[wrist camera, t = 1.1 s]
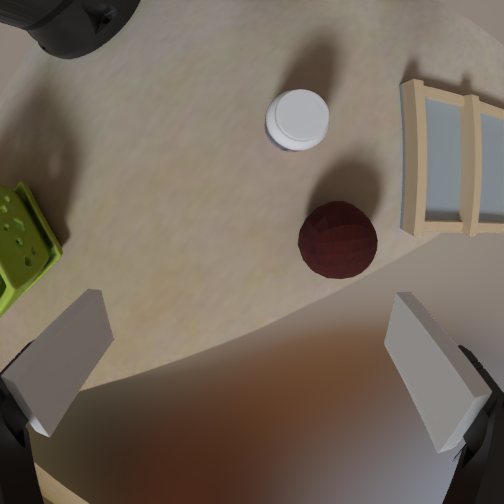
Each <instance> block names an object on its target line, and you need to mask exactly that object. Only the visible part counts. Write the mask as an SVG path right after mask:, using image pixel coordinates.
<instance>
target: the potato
mask: <svg viewBox="0 0 504 504" xmlns="http://www.w3.org/2000/svg"><path fill="white" fill-rule="evenodd" d="M377 242H378V240H377V235H376V231H375V229H374V227H373V225H372V223H371V221H370V220H369V218H368V217H367V216H366V215H365V214H364V213H363V212H362V211H360V210H359V209H358V208H356V207H355V206H354V205H352V204H349V203H347V202H344V201H332V202H330V203H327V204H325V205H322V206H320V207H318V208H317V209H316V210H315V211H314V212H312V213H311V214H310V215H309V216H308V217H307V218H306V220H305V221H304V223H303V225H302V227H301V229H300V232H299V239H298V247H299V249H300V252H301V255H302V258H303V260H304V261H305V263H306V264H307V265H308V266H309V267H310V269H311V270H312V271H314V272H315V273H318V274H320V275H322V276H324V277H326V278H335V279H344V278H350V277H354V276H356V275H358V274H360V273H362V272H363V271H364V270H365V269H366V268H367V267H368V266H369V265H370V264H371V262H372V261H373V259H374V256H375V254H376V251H377Z"/></svg>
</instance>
